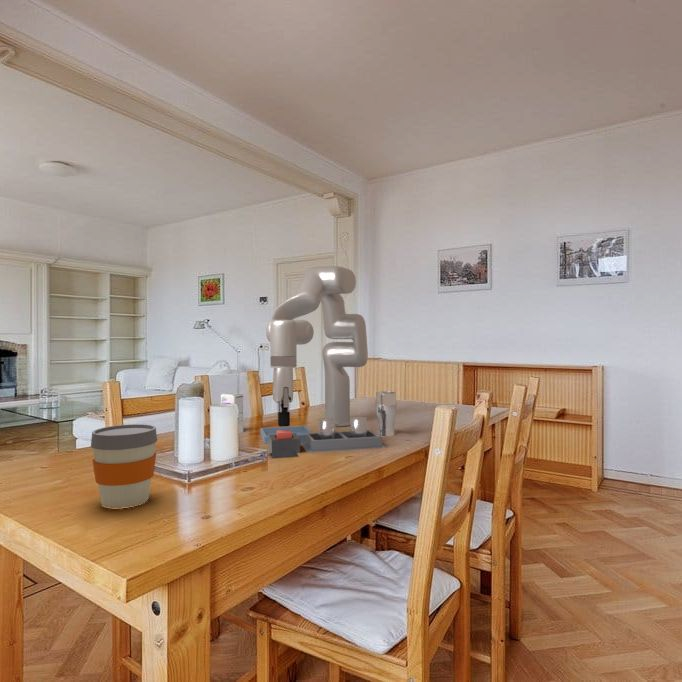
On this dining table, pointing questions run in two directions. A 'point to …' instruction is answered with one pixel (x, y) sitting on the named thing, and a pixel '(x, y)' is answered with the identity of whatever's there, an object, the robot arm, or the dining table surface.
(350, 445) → the grey divided tray
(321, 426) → the billet
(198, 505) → the dining table surface
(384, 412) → the beer glass
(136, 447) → the reusable coffee cup
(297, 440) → the box
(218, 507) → the dining table surface
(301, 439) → the tray
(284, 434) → the button
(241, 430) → the syrup box
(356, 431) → the seated billet
